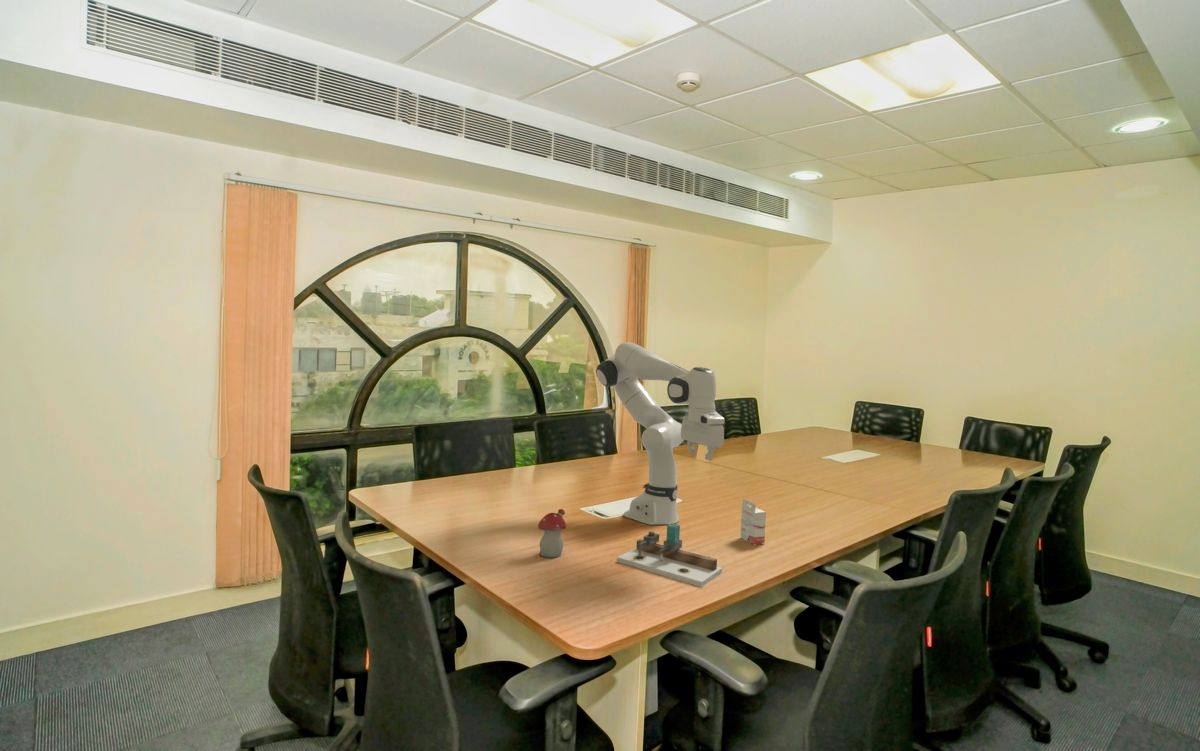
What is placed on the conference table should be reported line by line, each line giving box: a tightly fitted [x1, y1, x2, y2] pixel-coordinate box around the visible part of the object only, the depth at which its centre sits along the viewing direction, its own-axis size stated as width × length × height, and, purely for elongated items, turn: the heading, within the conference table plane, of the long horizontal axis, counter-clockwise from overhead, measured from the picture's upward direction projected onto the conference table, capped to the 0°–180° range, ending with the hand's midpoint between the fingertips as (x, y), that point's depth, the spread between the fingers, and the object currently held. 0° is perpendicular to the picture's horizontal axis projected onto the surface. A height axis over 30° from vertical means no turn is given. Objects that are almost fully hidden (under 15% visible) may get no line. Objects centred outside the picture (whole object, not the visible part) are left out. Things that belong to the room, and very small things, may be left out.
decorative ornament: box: [537, 508, 567, 559], centre depth 194 cm, size 9×7×15 cm
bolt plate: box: [616, 547, 723, 588], centre depth 187 cm, size 30×14×2 cm, turn 54°
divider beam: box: [635, 530, 718, 571], centre depth 188 cm, size 28×10×7 cm, turn 54°
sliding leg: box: [659, 523, 683, 561], centre depth 189 cm, size 4×10×10 cm, turn 144°
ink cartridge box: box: [740, 498, 767, 545], centre depth 214 cm, size 9×5×15 cm, turn 21°
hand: (700, 457), depth 199 cm, fingers open, 8 cm apart
